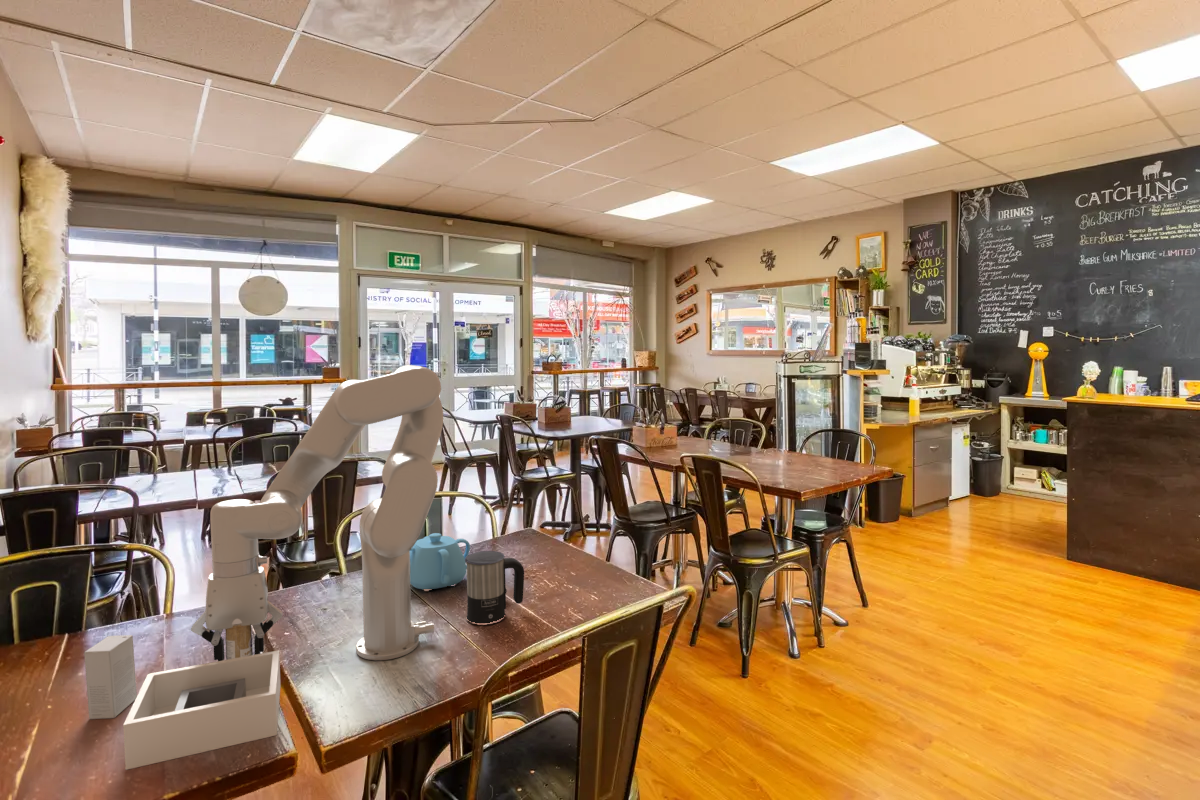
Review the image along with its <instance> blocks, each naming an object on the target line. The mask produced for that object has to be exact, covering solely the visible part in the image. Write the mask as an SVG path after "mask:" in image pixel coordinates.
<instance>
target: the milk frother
mask: <svg viewBox="0 0 1200 800" xmlns="http://www.w3.org/2000/svg"><path fill="white" fill-rule="evenodd" d="M465 562H466V565H467V569H466V589H467V590H466V592H467V593H466V595H467V599H466V601H467V605H466V606H467V609H466V613H467V614H466V617H467V619H468V620H469V621H471V622H475V623H490V622H493V621H497V620H499V619H501V618H503V617H504V615H505V613H506V611H505V610H506V609H507V595H506V594H507V591H508V590H507V587H506V586H507V585H506V570H507V569H508V570H509V569H513V573H514V575H513V598H512V599H513V600H514V602H515V603H516V604H522V602H523V600H524V598H523V597H524V585H525V569H524V566H523V565H522V563H521V562H520V561H519V560H517V559H515V558H513V557H506V556H505V554H504V553H503V552H500V551H496V550H495V551H494V550H482V551H475V552H473V553H472V552H471V553H469V554H468V556H467V557H466V558H465Z"/></svg>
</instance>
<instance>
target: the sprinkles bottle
mask: <svg viewBox="0 0 1200 800" xmlns="http://www.w3.org/2000/svg"><path fill="white" fill-rule="evenodd" d="M241 623H242V622H241V620H240V619H235V620H234V621H233V623H232V625H234V626H233V627H232V628H229V629H224V630H225V639H224V642H225V657H226V659H225V660H228V659H234V658H239V657H245V656H251V655H254V654H253V650H254V649H253V636H252V625H248V626H241ZM237 624H239V625H237Z"/></svg>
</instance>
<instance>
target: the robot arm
mask: <svg viewBox="0 0 1200 800" xmlns="http://www.w3.org/2000/svg"><path fill="white" fill-rule="evenodd" d="M441 391H442V384H441V380H440V378H439V377H438V375H437V374H436V373H435V372H434V371H433V370H431V369H430V368H428V367H425V366H420V365H414V364H407V365H402V366H400V367H398V368H397V369H395V370H394V371H393V372H392V373H389V374H385V375H382V376H377V377H373V378H369V379H362V380H360V379H349V380H346V381H343V382H341V384H339V385H338V386H337V387H336V389H335V390H334V391H333V393H332V394H331V396H330V397H329V398H328V400H327V402H326V403H325V405H324V406H323V407H322V409H321V411H320V412H319V413H318V415H317V417H316V418H315V420H314V421H313V423H312V424H311V426H310V427H309V428H308V430H307V432H306V433H305V434H304V436H303V437H302V439H301V440H300V442H299V443H298V444H297V446H296V448H295V449H294V450H293V452H292V454H291V455H290V457H288V459H287V460H286V462H285V463H284V465H283V466H282V468H281V469H280V470H279V472H278V473H277V475H276V477H275V478H274V479H273V480H272V483H271V484H270V485H269V487H268V489H267V490H266V491H265V493H264V494H263V496H262V498H261V500H259V501H260V502H259V503H255V501H253V500H251V499H244V498H236V499H228V500H223V501H220V502H217V503H215V504H214V505H212V507H211V509H210V519H209V520H210V536H211V537H210V540H211V541H210V542H211V543H210V544H211V560H212V561H211V566H212V573H210V574H209V575H208V579H207V583H206V585H207V586H206V593H205V594H206V596H205V610H204V611H203V613H202V614H201V615H200V616H199V618H198V619H197V620H195V622H194V623H193V624H192V626H191V628H190V631H191V632H192V633H194V634H196V635H198V636H200V637H202V639H204V640H205V641H207V642H209V643H210V644H211V645H212V647H213V661H222V660H225V639H223V637H222V634H223V631H224V630H225V629H229V628H232V627H233V626H234V625H232V623H233V621H234V620H235V619H240V620H241V622H242V623H241V626H248V625H251V627H252V628H253V630H254V632H255V634H254V639H253V642H254V644H253V645H254V646H253V648H254V649H253V650H254V655H256V654H261V653H262V652H263V653H264V650H265V647H264V646H265V645H264V643H265V642H264V641H265V640H264V637H265V635H266V634H267V633H268V632H269V631H270V629H272V627H273V626H274V625H275V624H276V623H277V622H278V621H279V620H281V618H282V617H283V611H282V610H281V609H280V608H278V607H277V606H276V605H275V604H273V603H272V602H271V601H270V600H269V591H268V582H267V577H266V573H265V569H264V567H263V566H262V565H265V564H268V556H262V555H260V551H259V540H261V539H263V540H281V539H282V540H283V539H285V538H286V539H287V538H289V537H291V536H294V534H296V533H297V532H298V531H299V529H300V528H301V526H302V523H303V511H302V508H303V505H304V504H305V502H306V501H307V499H308V498H309V496H310V495H311V493H312V492H313V490H314V489H315V487H316V486H317V485H318V484H319V482H320V481H321V480H322V479H323V477H325V476H326V474H327V473H329V472H331V471H332V470H334V469H335V468H337V467H338V466H339V465H340V464H341V463H342V462H343V460H344V459H345V458H346V457H347V455H348V453H349V451H350V450H351V448H352V446H353V445H354V443H355V441H356V440H357V439H358V436H359V435H360V433H361V432H362V431H363V430H364V428H365V426H367V425H372V424H376V423H380V422H384V421H388V420H392V419H395V418H398V417H401V421H400V425H399V428H398V430H397V434H396V437H395V439H394V442H393V444H392V446H391V449H390V453H389V454H388V456H387V459H386V461H385V463H384V465H383V468H382V471H381V479H382V482H383V484H384V486H385V490H384V492H383V495H382V497H381V498H380V497H379V498H377V499H374V500H372V501H371V502H369V503H368V504H367V505H366V506H365V508H364V509H363V510H362V513H361V516H360V518H359V537H360V539H359V540H360V548H361V564H362V565H361V569H362V580H361V581H362V616H363V617H362V618H363V620H362V621H363V637H361V638H360V639H359V640H358V641H357V643H356V644H355V652H356V654H357V655H358V656H359V657H360V658H363V659H364V660H369V661H388V660H393V659H397V658H400V657H403V656H406V655H408V654H410V653H412V652H413V651H414V650H415V649H416V648H417V647H418V646H419V643H420V635H424V634H433V633H435V626H434V623H433V622H432V623H427V622H426V620H423V621H418V622H415V621H413V620H412V610H411V609H412V604H411V603H412V602H411V601H412V598H411V583H410V549H411V548H412V547H413V546H414V544H415V543H416V541H417V540H419V537H420V535H421V533H422V530H423V528H424V525H425V522H426V521H427V520H426V519H427V517H428V514H429V511H430V510H431V507H432V504H433V502H434V498H435V497H436V493H437V490H438V489H437V488H438V483H439V482H438V473H437V470H436V468H435V466H434V465H433V463H432V461H433V458H434V455H435V453H436V451H437V446H438V443H439V440H440V437H441V435H442V430H443V425H444V409H443V404H442V400H441V397H440V395H441ZM268 613H269V614H270V615H271V616H270V617H269V618H268ZM204 624H205V626H206V627H205V626H204ZM237 625H239V624H237Z"/></svg>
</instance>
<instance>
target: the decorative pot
mask: <svg viewBox="0 0 1200 800" xmlns="http://www.w3.org/2000/svg"><path fill="white" fill-rule="evenodd" d="M460 543H462V544H465V549H464V554H463V551H462V549H461V548H460V545H459V544H460ZM470 552H471V545H470V542H469V541H468V540H467V539H464V538H457V539H454V538H453V537H452V536H448V535H442V534H441V533H440V532H439V533H438V532H434V533H433V532H432V533H431V534H429V535H427V536H424V537H423V538H420V539H419V538H418V539H417V541H416V543H415V544H414V546H413V547H412V548H411V549H410V586H412V587H414V588H415V589H419V590H423V589H434V590H435V589H441V588H446V587H447V586H451V585H454V584H456V585H457V584H459V583H461V582H462V580H463V579H464V578H465V576H466V575H467V564H466V562H465V558H466V557H467V556H468V555H470Z"/></svg>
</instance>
